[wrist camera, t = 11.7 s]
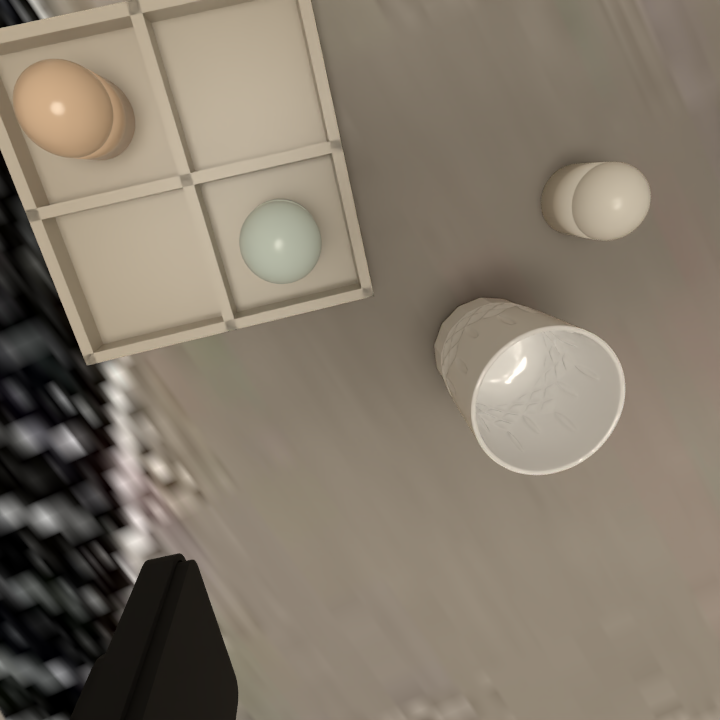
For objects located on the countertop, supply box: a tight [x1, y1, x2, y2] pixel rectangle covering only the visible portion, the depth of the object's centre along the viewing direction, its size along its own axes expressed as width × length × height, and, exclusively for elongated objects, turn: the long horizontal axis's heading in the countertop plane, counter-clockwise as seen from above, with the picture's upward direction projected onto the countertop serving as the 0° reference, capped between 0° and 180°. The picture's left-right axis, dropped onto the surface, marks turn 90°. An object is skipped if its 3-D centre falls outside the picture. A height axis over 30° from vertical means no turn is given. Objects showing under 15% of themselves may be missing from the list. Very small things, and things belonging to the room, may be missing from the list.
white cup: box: [434, 298, 625, 475], centre depth 32 cm, size 8×8×10 cm
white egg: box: [541, 162, 651, 241], centre depth 32 cm, size 4×4×6 cm
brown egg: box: [13, 59, 135, 160], centre depth 27 cm, size 4×4×6 cm
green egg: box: [239, 198, 322, 284], centre depth 30 cm, size 4×4×6 cm
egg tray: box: [0, 0, 374, 365], centre depth 31 cm, size 17×17×2 cm
